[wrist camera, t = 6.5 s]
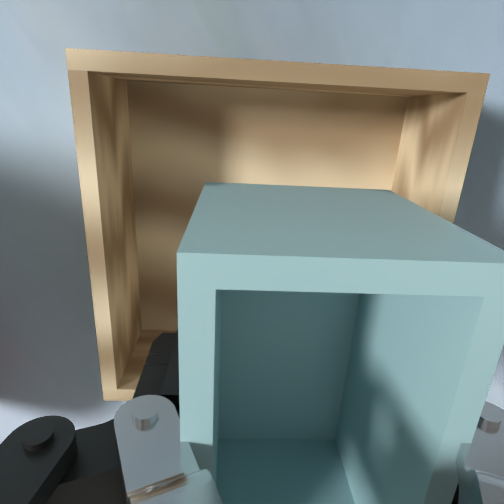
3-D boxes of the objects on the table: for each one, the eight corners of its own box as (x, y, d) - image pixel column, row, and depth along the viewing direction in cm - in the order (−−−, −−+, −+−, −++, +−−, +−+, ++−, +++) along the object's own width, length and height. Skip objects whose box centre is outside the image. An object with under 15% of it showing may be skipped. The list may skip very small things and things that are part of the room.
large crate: (115, 65, 22) (65, 48, 16) (417, 83, 23) (490, 73, 17) (133, 333, 28) (103, 400, 22) (370, 337, 29) (409, 403, 23)
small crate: (205, 181, 11) (176, 252, 6) (388, 189, 12) (530, 263, 6) (203, 438, 15) (184, 637, 9) (344, 439, 15) (408, 632, 10)
